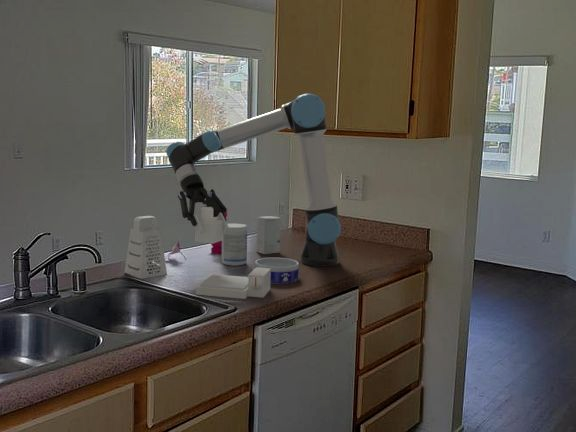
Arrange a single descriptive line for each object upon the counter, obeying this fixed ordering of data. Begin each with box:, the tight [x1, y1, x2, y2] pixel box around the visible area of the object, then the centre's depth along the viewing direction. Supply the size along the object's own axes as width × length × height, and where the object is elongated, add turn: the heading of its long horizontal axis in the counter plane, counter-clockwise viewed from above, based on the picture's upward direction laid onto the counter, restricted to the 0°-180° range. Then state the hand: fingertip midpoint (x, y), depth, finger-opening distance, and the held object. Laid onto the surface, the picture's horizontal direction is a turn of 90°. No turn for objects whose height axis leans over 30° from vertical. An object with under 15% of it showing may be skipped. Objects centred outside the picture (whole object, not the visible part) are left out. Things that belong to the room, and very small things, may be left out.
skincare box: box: [256, 215, 282, 255], centre depth 267 cm, size 8×6×15 cm
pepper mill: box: [210, 210, 228, 255], centre depth 263 cm, size 7×7×20 cm
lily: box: [165, 235, 187, 261], centre depth 248 cm, size 12×12×10 cm
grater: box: [124, 215, 168, 280], centre depth 225 cm, size 10×10×20 cm
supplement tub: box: [221, 223, 248, 267], centre depth 245 cm, size 10×10×15 cm
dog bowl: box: [254, 257, 300, 285], centre depth 226 cm, size 15×15×6 cm
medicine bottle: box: [194, 205, 223, 245], centre depth 222 cm, size 7×7×12 cm
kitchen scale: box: [195, 267, 271, 300], centre depth 208 cm, size 21×16×7 cm
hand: (213, 231), depth 220 cm, fingers closed on medicine bottle, 9 cm apart
